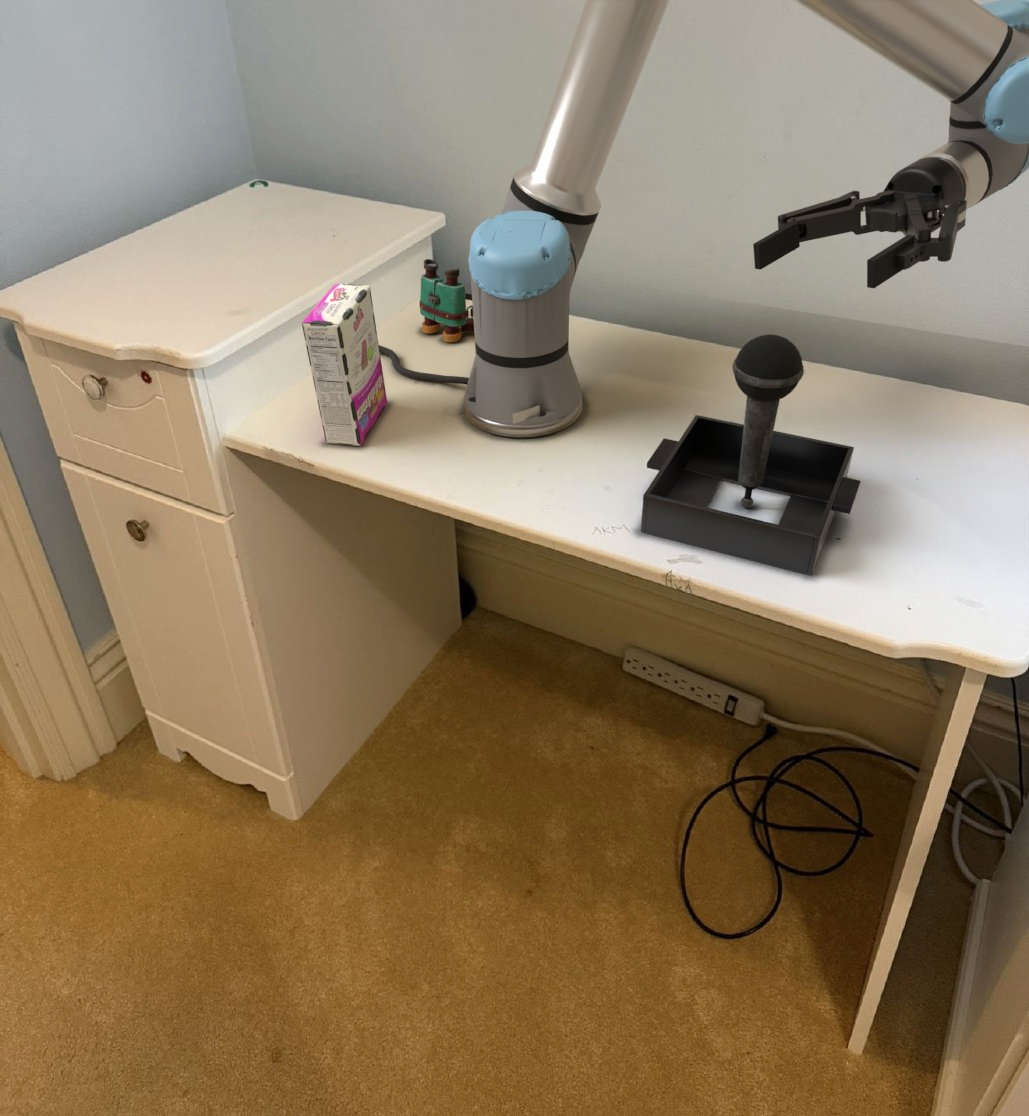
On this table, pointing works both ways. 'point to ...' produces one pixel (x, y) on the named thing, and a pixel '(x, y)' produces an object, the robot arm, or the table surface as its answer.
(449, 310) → the binoculars
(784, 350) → the microphone
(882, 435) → the table surface
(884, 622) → the table surface
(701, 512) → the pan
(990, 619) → the table surface
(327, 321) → the candy bar box
